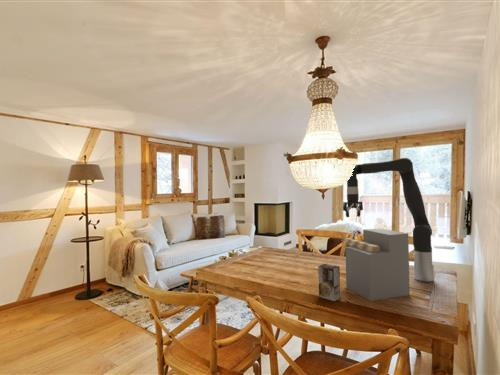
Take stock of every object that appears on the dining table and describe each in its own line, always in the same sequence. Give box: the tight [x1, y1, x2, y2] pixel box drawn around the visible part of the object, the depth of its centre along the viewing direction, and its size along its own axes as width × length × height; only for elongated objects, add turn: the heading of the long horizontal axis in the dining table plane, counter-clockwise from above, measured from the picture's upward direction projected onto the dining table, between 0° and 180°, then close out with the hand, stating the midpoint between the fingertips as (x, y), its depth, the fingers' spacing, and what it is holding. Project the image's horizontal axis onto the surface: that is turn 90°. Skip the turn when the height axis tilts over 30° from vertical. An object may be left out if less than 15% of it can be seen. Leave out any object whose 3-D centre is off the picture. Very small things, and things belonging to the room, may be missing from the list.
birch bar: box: [341, 236, 380, 253], centre depth 155 cm, size 28×3×3 cm, turn 16°
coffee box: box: [317, 263, 341, 302], centre depth 143 cm, size 9×6×16 cm
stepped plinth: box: [345, 228, 411, 302], centre depth 151 cm, size 20×24×32 cm
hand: (353, 216), depth 191 cm, fingers open, 8 cm apart
